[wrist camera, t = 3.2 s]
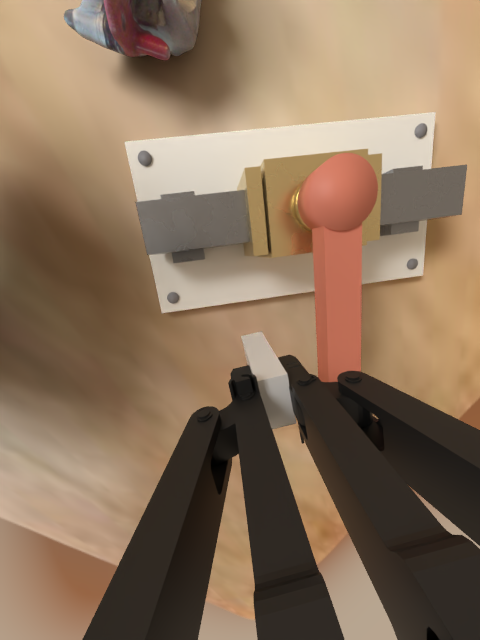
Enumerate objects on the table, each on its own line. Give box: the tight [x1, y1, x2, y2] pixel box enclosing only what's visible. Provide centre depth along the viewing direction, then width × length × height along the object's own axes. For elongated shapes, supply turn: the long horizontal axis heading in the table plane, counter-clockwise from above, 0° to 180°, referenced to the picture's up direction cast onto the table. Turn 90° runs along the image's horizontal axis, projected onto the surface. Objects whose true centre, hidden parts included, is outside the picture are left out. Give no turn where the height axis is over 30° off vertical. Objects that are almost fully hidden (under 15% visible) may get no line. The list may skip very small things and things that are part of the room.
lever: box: [298, 153, 378, 382], centre depth 18 cm, size 17×4×2 cm, turn 7°
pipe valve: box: [136, 149, 467, 263], centre depth 22 cm, size 28×7×9 cm, turn 97°
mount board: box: [125, 112, 435, 313], centre depth 26 cm, size 30×16×1 cm, turn 97°
